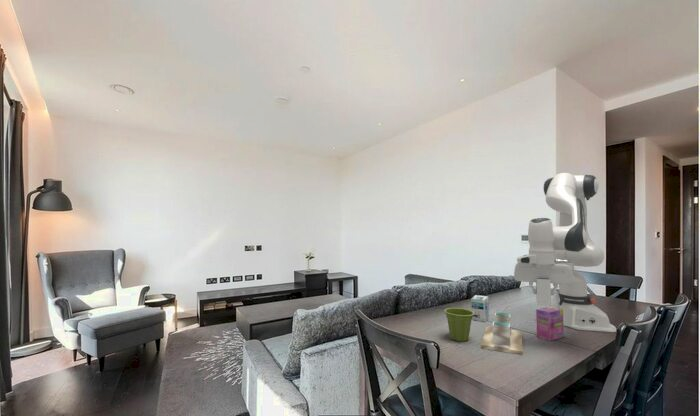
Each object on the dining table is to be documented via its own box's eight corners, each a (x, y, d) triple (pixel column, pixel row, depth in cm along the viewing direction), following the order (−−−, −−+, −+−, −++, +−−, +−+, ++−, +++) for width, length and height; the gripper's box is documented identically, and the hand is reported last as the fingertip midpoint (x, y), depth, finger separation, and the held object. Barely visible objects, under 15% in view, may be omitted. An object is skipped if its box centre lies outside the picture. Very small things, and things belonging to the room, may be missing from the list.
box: (550, 341, 129) (549, 311, 130) (536, 337, 134) (535, 308, 135) (564, 337, 134) (563, 308, 134) (550, 333, 139) (549, 305, 139)
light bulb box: (485, 322, 155) (485, 299, 156) (471, 320, 159) (470, 298, 159) (489, 317, 164) (488, 296, 165) (475, 315, 168) (475, 294, 168)
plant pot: (458, 345, 124) (458, 316, 125) (439, 336, 135) (438, 309, 135) (481, 341, 129) (480, 313, 129) (460, 332, 139) (459, 306, 140)
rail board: (521, 333, 138) (520, 313, 138) (522, 354, 115) (521, 329, 115) (486, 328, 144) (486, 309, 145) (481, 348, 121) (480, 324, 122)
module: (549, 302, 126) (548, 276, 126) (551, 306, 120) (550, 279, 120) (536, 301, 128) (535, 275, 129) (537, 305, 122) (536, 278, 122)
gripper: (572, 259, 123) (573, 295, 122) (513, 257, 132) (514, 290, 132) (575, 260, 117) (576, 298, 117) (513, 258, 127) (514, 293, 126)
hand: (543, 294), depth 124 cm, fingers closed on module, 4 cm apart
